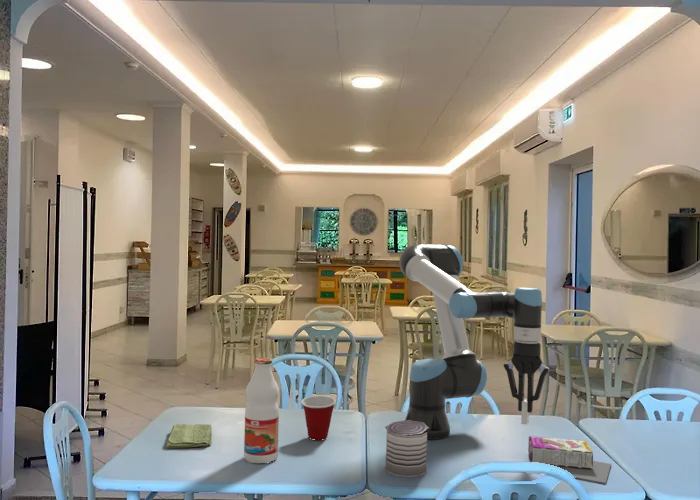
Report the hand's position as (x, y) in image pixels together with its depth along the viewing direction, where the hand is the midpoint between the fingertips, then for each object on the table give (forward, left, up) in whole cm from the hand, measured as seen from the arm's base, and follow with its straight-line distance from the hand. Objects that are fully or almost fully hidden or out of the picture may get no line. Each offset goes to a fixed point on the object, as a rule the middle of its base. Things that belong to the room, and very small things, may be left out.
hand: (524, 422), depth 174 cm
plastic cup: (-60, -16, -11) cm, 63 cm away
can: (-26, -26, -11) cm, 38 cm away
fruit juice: (-64, -40, -11) cm, 76 cm away
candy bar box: (+1, +1, -8) cm, 8 cm away
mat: (+12, 0, -10) cm, 16 cm away
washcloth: (-92, -38, -11) cm, 100 cm away
